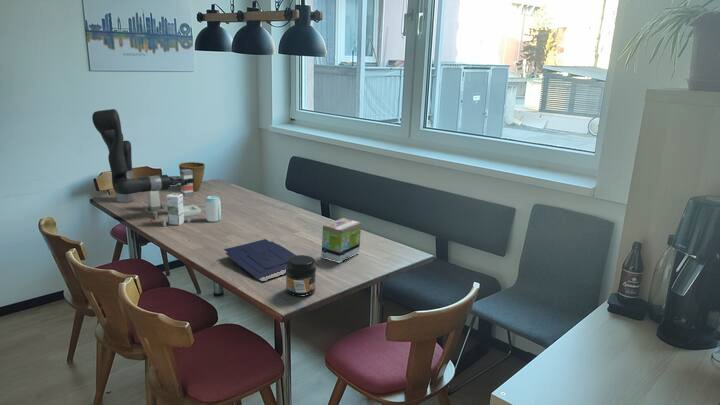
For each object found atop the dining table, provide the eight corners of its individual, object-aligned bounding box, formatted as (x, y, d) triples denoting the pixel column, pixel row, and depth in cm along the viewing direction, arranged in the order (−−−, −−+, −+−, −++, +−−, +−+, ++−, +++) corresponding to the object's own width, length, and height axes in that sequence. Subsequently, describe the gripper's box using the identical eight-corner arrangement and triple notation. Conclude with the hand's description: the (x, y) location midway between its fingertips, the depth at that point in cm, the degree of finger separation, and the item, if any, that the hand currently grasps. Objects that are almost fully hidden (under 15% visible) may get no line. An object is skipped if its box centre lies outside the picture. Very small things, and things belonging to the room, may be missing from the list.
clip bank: (136, 210, 265) (135, 206, 265) (165, 206, 275) (165, 202, 274) (159, 227, 242) (159, 222, 242) (190, 221, 252) (190, 217, 251)
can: (203, 220, 255) (202, 197, 252) (213, 217, 261) (212, 194, 258) (213, 223, 252) (213, 199, 248) (223, 219, 258) (223, 196, 255)
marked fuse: (180, 194, 263) (179, 169, 260) (189, 193, 266) (188, 169, 263) (184, 196, 260) (183, 171, 256) (193, 195, 263) (192, 170, 259)
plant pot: (175, 192, 304) (173, 165, 300) (187, 186, 319) (186, 161, 314) (198, 194, 302) (197, 167, 298) (209, 188, 316) (209, 163, 312)
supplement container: (299, 300, 176) (300, 268, 173) (279, 290, 183) (279, 259, 179) (321, 291, 184) (322, 260, 180) (301, 282, 190) (302, 252, 187)
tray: (174, 212, 266) (174, 207, 265) (193, 209, 272) (193, 204, 272) (182, 217, 259) (182, 212, 258) (201, 214, 265) (201, 209, 265)
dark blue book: (268, 243, 224) (269, 236, 223) (312, 272, 205) (313, 264, 204) (218, 256, 208) (219, 248, 206) (261, 289, 189) (261, 280, 187)
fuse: (148, 208, 270) (146, 184, 266) (157, 207, 273) (155, 183, 269) (151, 210, 267) (149, 186, 263) (160, 209, 270) (159, 185, 266)
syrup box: (184, 222, 251) (183, 193, 248) (179, 225, 246) (177, 196, 242) (173, 221, 252) (171, 192, 248) (167, 224, 246) (166, 195, 242)
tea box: (340, 264, 209) (341, 230, 205) (320, 258, 214) (321, 225, 210) (360, 254, 221) (361, 221, 217) (340, 248, 226) (342, 216, 222)
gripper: (163, 178, 245) (197, 174, 256) (152, 172, 256) (185, 169, 267) (164, 193, 247) (197, 189, 258) (153, 187, 258) (186, 183, 269)
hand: (191, 179), depth 263 cm, fingers closed on marked fuse, 4 cm apart
